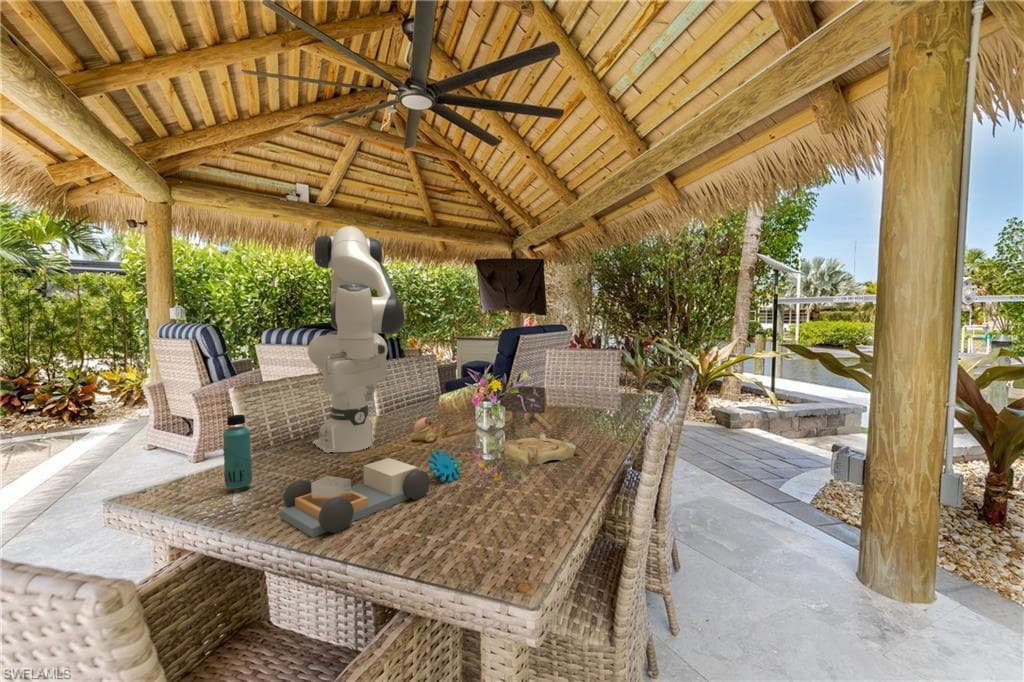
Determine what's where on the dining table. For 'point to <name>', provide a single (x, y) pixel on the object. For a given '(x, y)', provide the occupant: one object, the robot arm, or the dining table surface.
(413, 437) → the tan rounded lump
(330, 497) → the block
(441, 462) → the gear
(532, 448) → the ashtray
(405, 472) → the chassis
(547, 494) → the dining table surface
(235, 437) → the beverage bottle
